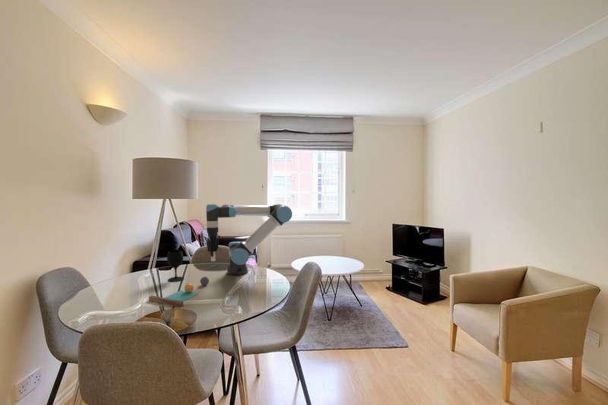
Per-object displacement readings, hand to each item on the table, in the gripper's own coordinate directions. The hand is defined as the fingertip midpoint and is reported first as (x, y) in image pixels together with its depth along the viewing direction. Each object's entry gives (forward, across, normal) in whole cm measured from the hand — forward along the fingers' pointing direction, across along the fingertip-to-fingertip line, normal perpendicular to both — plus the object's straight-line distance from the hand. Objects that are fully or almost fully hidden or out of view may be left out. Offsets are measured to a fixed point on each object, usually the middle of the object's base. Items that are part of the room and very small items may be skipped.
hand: (213, 260), depth 213 cm
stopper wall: (+14, +41, 0) cm, 44 cm away
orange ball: (+11, +23, 0) cm, 26 cm away
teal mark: (+14, +30, 0) cm, 33 cm away
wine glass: (+14, +8, -26) cm, 31 cm away
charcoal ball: (+11, +9, 0) cm, 14 cm away
